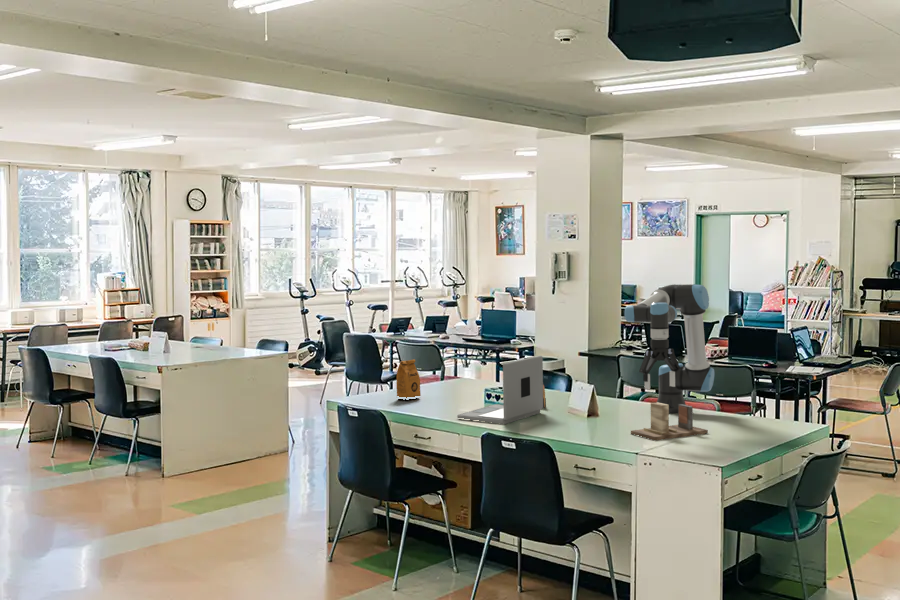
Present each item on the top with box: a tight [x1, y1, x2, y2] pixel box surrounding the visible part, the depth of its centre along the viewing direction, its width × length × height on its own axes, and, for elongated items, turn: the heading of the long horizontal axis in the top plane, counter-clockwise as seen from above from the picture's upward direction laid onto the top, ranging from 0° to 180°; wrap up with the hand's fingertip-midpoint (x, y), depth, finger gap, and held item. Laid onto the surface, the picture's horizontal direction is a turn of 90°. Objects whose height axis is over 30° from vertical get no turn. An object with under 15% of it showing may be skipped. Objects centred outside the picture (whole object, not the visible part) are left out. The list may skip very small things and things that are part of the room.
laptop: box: [456, 355, 544, 425], centre depth 438 cm, size 36×28×29 cm
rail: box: [630, 404, 709, 441], centre depth 389 cm, size 29×16×12 cm, turn 116°
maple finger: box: [650, 401, 670, 433], centre depth 386 cm, size 4×7×12 cm, turn 27°
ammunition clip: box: [543, 384, 547, 409], centre depth 463 cm, size 11×2×12 cm, turn 44°
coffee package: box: [395, 359, 422, 398], centre depth 493 cm, size 10×12×22 cm
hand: (659, 387), depth 386 cm, fingers open, 13 cm apart
